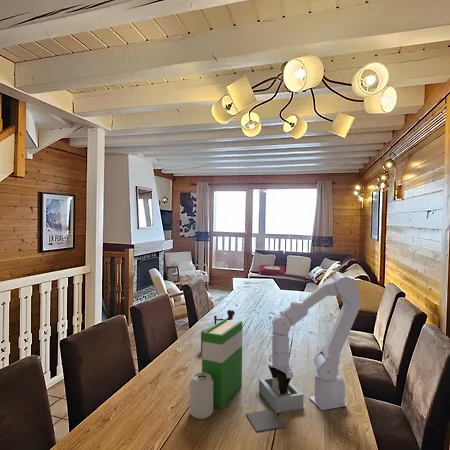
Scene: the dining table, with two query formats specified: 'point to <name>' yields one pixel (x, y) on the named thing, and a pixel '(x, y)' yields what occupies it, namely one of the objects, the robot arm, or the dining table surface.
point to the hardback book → (223, 359)
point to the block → (276, 386)
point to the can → (201, 395)
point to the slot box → (281, 396)
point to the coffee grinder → (230, 317)
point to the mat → (265, 420)
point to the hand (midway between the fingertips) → (280, 389)
